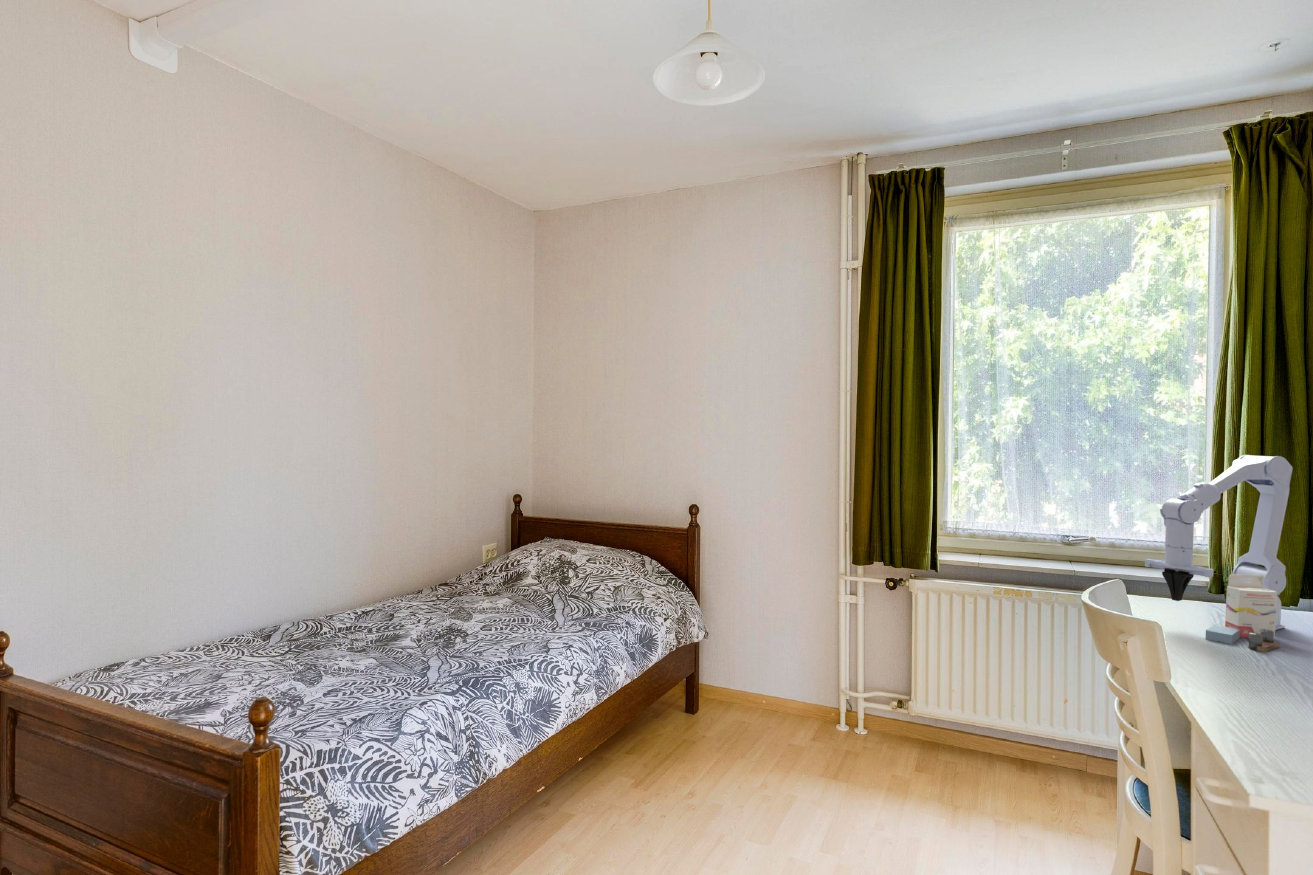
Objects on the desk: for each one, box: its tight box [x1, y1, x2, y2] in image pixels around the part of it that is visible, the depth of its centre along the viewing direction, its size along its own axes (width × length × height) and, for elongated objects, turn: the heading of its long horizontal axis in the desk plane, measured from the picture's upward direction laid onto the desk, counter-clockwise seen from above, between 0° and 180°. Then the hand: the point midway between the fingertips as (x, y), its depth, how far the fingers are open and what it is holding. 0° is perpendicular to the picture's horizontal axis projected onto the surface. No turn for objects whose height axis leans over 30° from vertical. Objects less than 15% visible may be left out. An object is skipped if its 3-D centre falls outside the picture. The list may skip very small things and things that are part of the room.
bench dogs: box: [1247, 629, 1280, 653], centre depth 164 cm, size 8×3×4 cm, turn 120°
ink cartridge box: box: [1224, 573, 1278, 640], centre depth 174 cm, size 9×5×15 cm, turn 84°
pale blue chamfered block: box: [1205, 624, 1241, 645], centre depth 171 cm, size 8×5×2 cm, turn 130°
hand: (1176, 600), depth 180 cm, fingers closed
